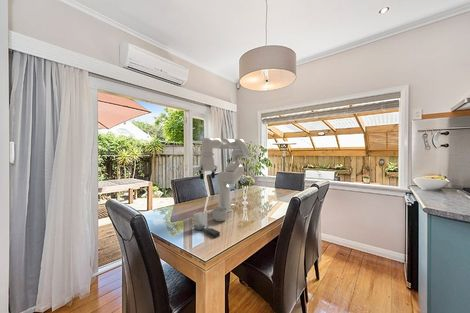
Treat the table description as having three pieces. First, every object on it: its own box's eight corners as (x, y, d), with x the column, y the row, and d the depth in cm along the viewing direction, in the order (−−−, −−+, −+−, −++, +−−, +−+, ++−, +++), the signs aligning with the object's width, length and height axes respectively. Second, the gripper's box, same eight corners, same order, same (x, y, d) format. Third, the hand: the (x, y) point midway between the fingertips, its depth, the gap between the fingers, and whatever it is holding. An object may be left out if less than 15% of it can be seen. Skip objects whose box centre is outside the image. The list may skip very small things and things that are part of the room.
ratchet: (222, 235, 118) (222, 225, 118) (211, 239, 113) (211, 229, 112) (202, 225, 133) (202, 217, 133) (191, 228, 128) (191, 219, 128)
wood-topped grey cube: (201, 222, 132) (201, 211, 132) (207, 224, 127) (207, 213, 127) (193, 224, 128) (193, 213, 128) (199, 227, 123) (199, 215, 123)
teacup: (223, 223, 137) (223, 211, 136) (209, 221, 140) (209, 210, 140) (231, 217, 150) (231, 206, 149) (217, 215, 153) (217, 205, 153)
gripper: (213, 154, 157) (214, 177, 157) (194, 155, 145) (194, 179, 146) (220, 155, 151) (220, 178, 152) (200, 155, 140) (200, 180, 140)
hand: (207, 178), depth 149 cm, fingers open, 9 cm apart
